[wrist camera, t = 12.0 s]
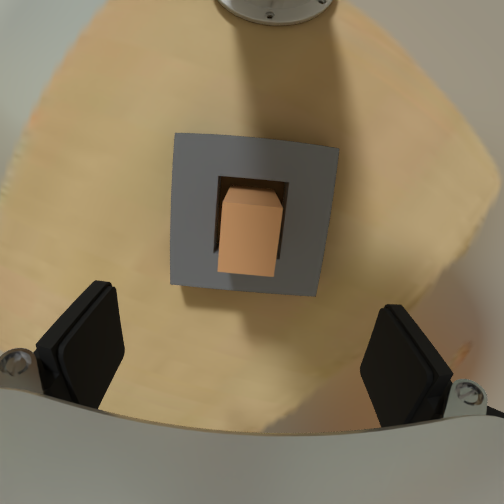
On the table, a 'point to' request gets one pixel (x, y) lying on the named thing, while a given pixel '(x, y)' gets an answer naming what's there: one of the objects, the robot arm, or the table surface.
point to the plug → (249, 231)
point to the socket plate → (256, 167)
